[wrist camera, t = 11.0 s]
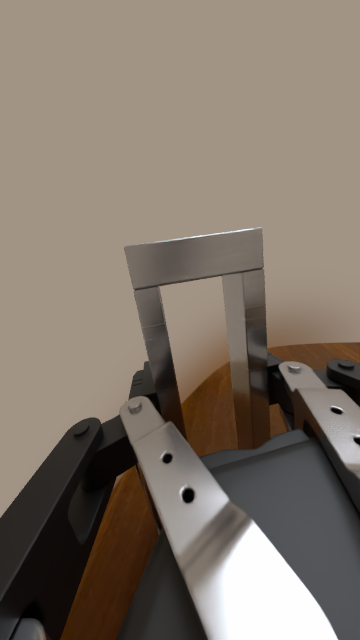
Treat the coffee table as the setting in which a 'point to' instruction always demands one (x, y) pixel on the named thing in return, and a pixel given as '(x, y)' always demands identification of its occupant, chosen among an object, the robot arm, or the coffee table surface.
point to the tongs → (241, 319)
